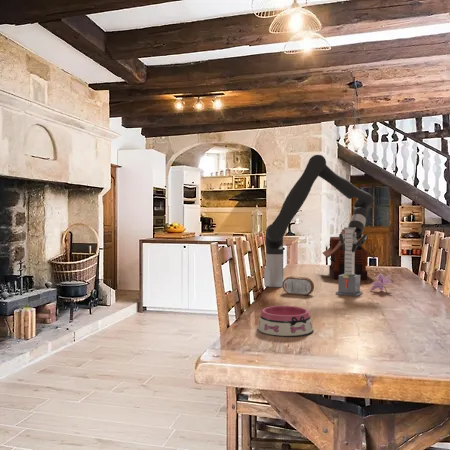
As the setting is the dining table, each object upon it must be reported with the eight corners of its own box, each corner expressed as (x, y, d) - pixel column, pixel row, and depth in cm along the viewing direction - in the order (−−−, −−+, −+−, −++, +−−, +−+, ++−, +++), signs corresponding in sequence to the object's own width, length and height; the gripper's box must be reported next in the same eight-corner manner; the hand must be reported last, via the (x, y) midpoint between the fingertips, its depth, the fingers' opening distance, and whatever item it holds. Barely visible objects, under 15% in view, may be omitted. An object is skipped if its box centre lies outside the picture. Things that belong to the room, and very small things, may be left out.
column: (352, 280, 218) (353, 227, 218) (343, 279, 221) (344, 227, 220) (355, 279, 222) (356, 227, 221) (346, 278, 225) (347, 227, 224)
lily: (395, 293, 230) (388, 275, 234) (400, 287, 219) (392, 269, 223) (372, 300, 230) (365, 282, 234) (376, 295, 219) (368, 276, 223)
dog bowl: (274, 340, 141) (274, 318, 140) (247, 326, 158) (247, 306, 157) (324, 334, 148) (324, 313, 148) (293, 321, 165) (293, 302, 165)
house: (321, 272, 301) (322, 228, 300) (366, 273, 297) (366, 229, 297) (326, 280, 266) (327, 230, 266) (376, 281, 263) (377, 231, 262)
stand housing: (355, 296, 214) (356, 276, 214) (335, 294, 220) (335, 274, 220) (362, 293, 223) (362, 274, 223) (342, 291, 229) (342, 272, 228)
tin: (314, 295, 218) (314, 277, 218) (312, 296, 215) (312, 278, 215) (283, 292, 224) (283, 275, 224) (281, 293, 221) (281, 276, 221)
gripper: (341, 219, 231) (332, 245, 221) (369, 220, 223) (361, 246, 213) (344, 229, 235) (335, 255, 226) (372, 230, 228) (364, 257, 218)
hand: (348, 250), depth 219 cm, fingers closed on column, 3 cm apart
